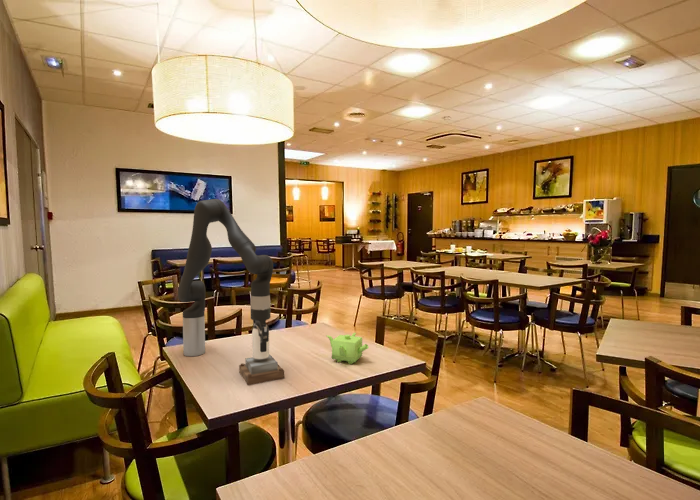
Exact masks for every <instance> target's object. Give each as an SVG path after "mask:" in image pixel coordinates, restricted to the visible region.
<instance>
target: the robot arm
mask: <svg viewBox="0 0 700 500" xmlns="http://www.w3.org/2000/svg"><path fill="white" fill-rule="evenodd" d="M216 222H217V223H218V222H220V223H221V224H222V225H223V226H224V227H225V229H226V233H227V239H228V242H229V245H230V246H231V247H232V248H233V250H234V251H235V252H236V253H237V254H238V255H239V257H240V259H241V261H242V263H243V266H245V268H246V269H247V271H248V272H249V273H250V274H253V275H256V278H255V279H254V280H251V281H252V282H251V283H250V284H251V285H250V320H252V326H253V327H254V326H255V327H256V328H257V329H258V336H259V337H260V351H261V352H266V342H268V341H269V342H270V329H269V328H270V327H269V326H268V324H267V323H266V322H267V321H268V320H270V319H271V317H272V316H271V315H272V314H271V292H270V291H271V289H270V288H271V287H270V285H271V284H270V283H271V280H272V276H273V273H274V262H273V259H272V257H270V255H268V254H259V255H258V254H256V251H257V246H256V245H255V243H254V242H253V241H252V240H251V239H250V238H249V237H248V235H247V234H245V232H244V231H243V230H242V229H241V227H240V226H239V224H238V222H237V221H236V220H235V218H234V216H233V214H232V213H231V211H230V209H228V207H227V206H226V204H225V203H224V202H223V201H222V200H220V199H218V198H211V199H203V200H199V201H198V202H197V203H196V205H195V207H194V210H193V222H192V230H191V231H192V232H191V236H190V242H189V245H188V250H187V254H186V259H185V260H186V261H185V265H184V270H183V273H182V275H181V278H180V281H179V285H178V289H177V296H178V300H179V301H180V302H181V303H191V302H193V304H192V305H191V306H189V307H187V308H185V309H184V310H183V311H182V340H183V342H182V343H183V345H182V346H183V347H182V348H183V350H182V351H183V355H184V357H197V356H201V355H203V354H205V353H206V328H205V326H206V325H205V322H206V321H205V311H206V310H205V309H206V284H205V282H203V280H194V279H195V278H196V277H197V276H198V275H199V274H200V273H201V272H202V271H203V270H204V269H205V268H206V267H207V266H208V265H209V262H210V259H211V255H212V252H213V251H212V250H213V247H212V243H211V241H210V239H209V238H208V235H207V232H208V228H209V226H210V225H209V224H211V223H216ZM253 327H252V328H253ZM259 329H260V330H259ZM260 331H262V333H261V334H260ZM264 336H265V339H263V337H264Z"/></svg>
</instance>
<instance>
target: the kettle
mask: <svg viewBox="0 0 700 500" xmlns="http://www.w3.org/2000/svg"><path fill="white" fill-rule="evenodd" d="M356 334H357V333H356V332H353V333H352V334H351V335H350V334H339V335H338V336H336V337H335V338H333V336H331V335H325V336H326V338H328V339H329V342H330V347H331V359H332V360H336V363H341V362H342V361H344V362H347V364H349V365H353V364H354V363H356V362H357V361H358V360H359V359H360V358H362V356H363V352H364V351H366V350H367V349H369V345H368V344H367V343H365V344H363V337H361V336H356Z"/></svg>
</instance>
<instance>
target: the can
mask: <svg viewBox="0 0 700 500" xmlns="http://www.w3.org/2000/svg"><path fill="white" fill-rule="evenodd" d="M259 330H260V329H259ZM251 331H252V332H251V349H252V350H251V351H252V354H251V358H252V357H253V358H254V359H258V360H261V359H266V358H268V357H269V355H270V340H269V341H268V342H266V352H261V351H260V337H259V336H258V329H257V328H256V327H255V326H254V327H252V330H251ZM261 333H262V331H260V334H261ZM263 339H265V336H264V337H263Z"/></svg>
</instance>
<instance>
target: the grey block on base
mask: <svg viewBox="0 0 700 500" xmlns="http://www.w3.org/2000/svg"><path fill="white" fill-rule="evenodd" d="M238 367H239V368H238V371H239V372H238V373H239V374H240V376H241V377H242V379H243V381H244V382H245V384H246V385H247V386H252V385H258V384H262V383H263V384H264V383H267V382H273V381H277V380H283V379H285V370H284V368H282V367H281V365H279V364H278V361H277V360H276V359H275V358H274V357H273V356H272V355H271V354H269V357H268V358H266V359H261V360H258V359H254V358H253V357H252V356H251V357H247V358H245V363H240V364H239V365H238Z"/></svg>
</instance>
